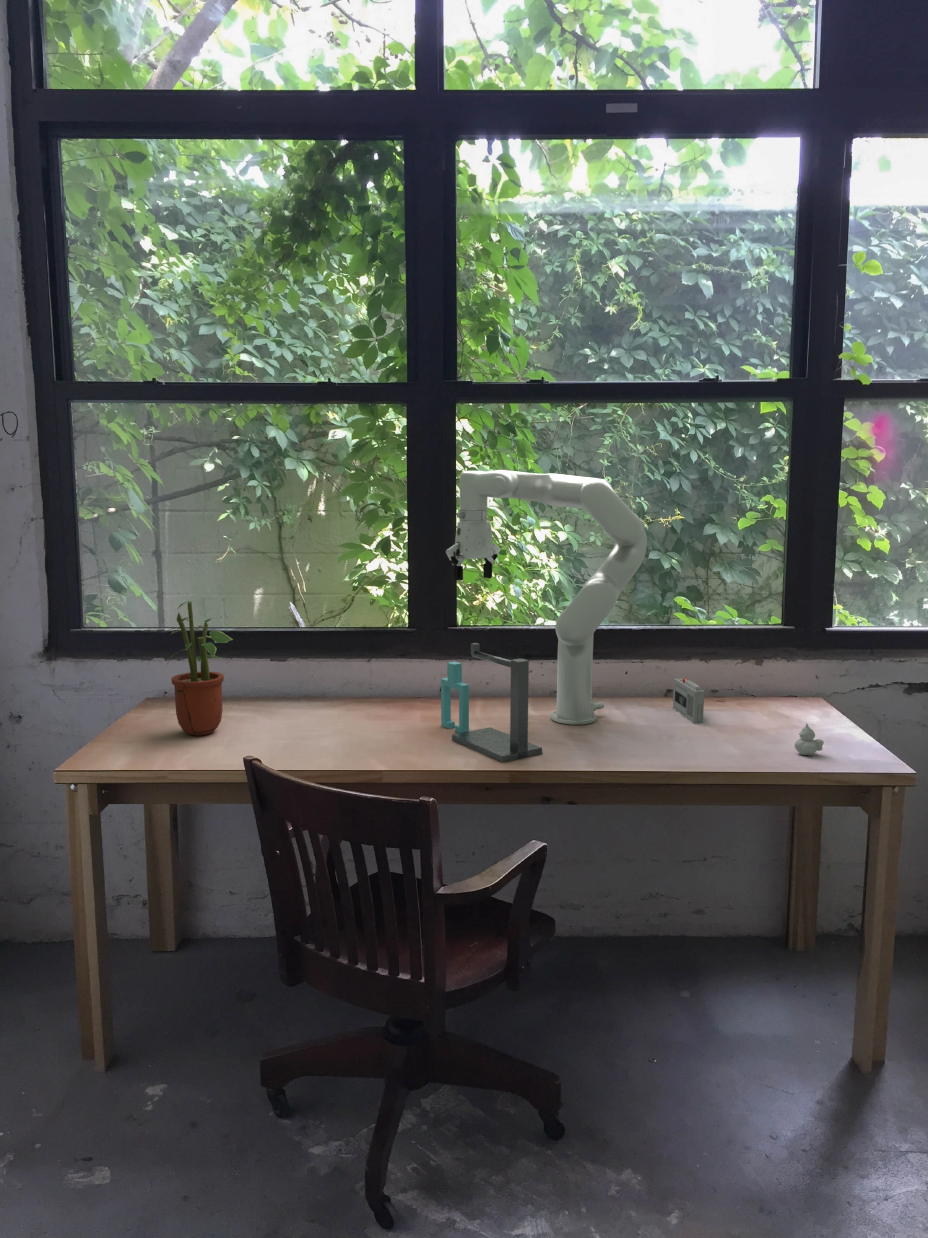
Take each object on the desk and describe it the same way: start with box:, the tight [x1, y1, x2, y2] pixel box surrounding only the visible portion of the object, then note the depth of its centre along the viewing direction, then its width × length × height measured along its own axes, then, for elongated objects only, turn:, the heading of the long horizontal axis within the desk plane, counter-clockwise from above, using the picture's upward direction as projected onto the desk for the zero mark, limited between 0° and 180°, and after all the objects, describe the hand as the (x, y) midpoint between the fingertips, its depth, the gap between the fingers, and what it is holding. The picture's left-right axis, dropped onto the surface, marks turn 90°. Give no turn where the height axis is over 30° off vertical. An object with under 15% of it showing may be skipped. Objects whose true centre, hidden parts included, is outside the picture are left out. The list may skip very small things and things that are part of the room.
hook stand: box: [451, 642, 543, 763], centre depth 222 cm, size 12×22×25 cm, turn 34°
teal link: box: [440, 661, 470, 734], centre depth 238 cm, size 10×2×18 cm, turn 35°
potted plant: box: [166, 600, 234, 737], centre depth 236 cm, size 17×16×35 cm
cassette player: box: [672, 678, 705, 724], centre depth 252 cm, size 16×3×10 cm, turn 8°
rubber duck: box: [794, 722, 825, 756], centre depth 217 cm, size 5×7×8 cm
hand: (473, 579), depth 249 cm, fingers open, 9 cm apart
